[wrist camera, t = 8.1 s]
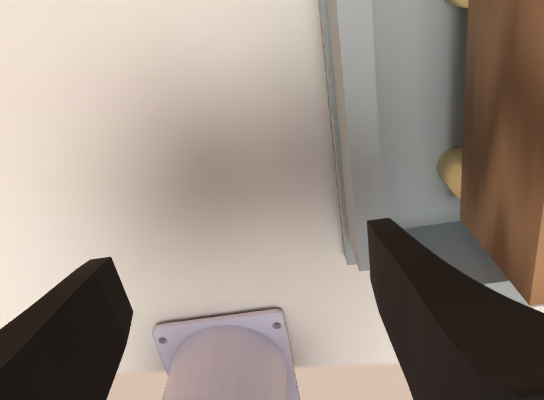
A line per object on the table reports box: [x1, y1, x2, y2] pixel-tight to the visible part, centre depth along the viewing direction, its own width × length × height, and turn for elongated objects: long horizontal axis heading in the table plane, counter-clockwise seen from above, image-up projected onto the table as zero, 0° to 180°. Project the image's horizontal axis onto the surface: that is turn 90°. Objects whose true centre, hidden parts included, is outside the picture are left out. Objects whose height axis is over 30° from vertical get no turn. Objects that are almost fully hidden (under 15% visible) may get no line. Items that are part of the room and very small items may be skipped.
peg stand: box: [319, 0, 544, 307], centre depth 17 cm, size 18×14×6 cm
